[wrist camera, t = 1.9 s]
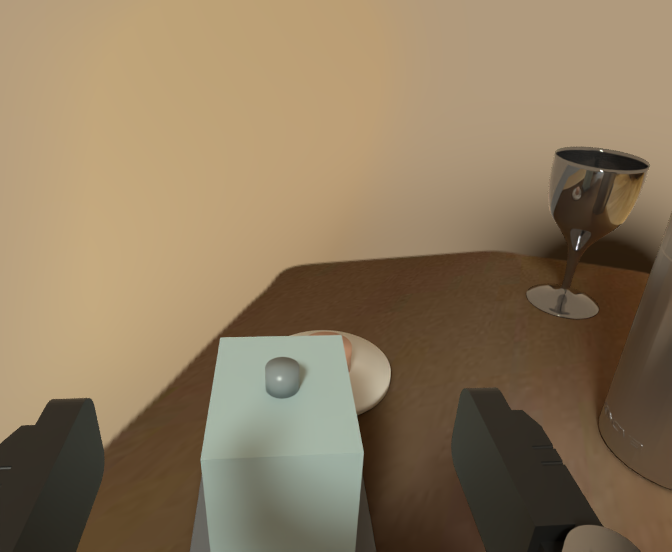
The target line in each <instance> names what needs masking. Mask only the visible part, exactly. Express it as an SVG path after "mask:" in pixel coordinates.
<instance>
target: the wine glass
mask: <svg viewBox="0 0 672 552" xmlns="http://www.w3.org/2000/svg"><path fill="white" fill-rule="evenodd" d="M649 167H650V164H649V163H648V162H647V161H646V160H644V159H642V158H640V157H637V156H634V155H631V154H628V153H624V152H619V151H614V150H609V149H602V148H593V147H565V148H560V149H558V150H556V152H555V155H554V159H553V163H552V168H551V174H550V179H549V192H548V197H549V209H550V212H551V214H552V217H553V219H554V221H555V222H556V224H557V226H558V227H559V229H560V231H561V232H562V234H563V235H564V238H565V239H566V243H567V247H568V258H567V266H566V272H565V276H564V280H563V283H562V285H558V284H539V285H535V286H532V287H531V288H529V289H528V291H527V293H526V296H527V299H528V300H529V302H530V303H531V304H533V305H534V306H535V307H537V308H538V309H540V310H542V311H544V312H546V313H549V314H551V315H555V316H558V317H563V318H569V319H586V318H590V317H593V316H595V315H596V314H597V313H598V312H599V306H598V303H597V302H596V301H595V300H594V299H593V298H592V297H591V296H589V295H588V294H586V293H584V292H582V291H580V290H577V289H574V288H572V287H570V286H571V282H572V278H573V275H574V272H575V269H576V267H577V265H578V262H579V260H580V258H581V256H582V254H583V253H584V251H585V250H586V249H587V248H588V247H589V246H590V245H591V244H593V243H594V242H596V241H597V240H599V239H600V238H602V237H604V236H605V235H607V234H609V233H610V232H612V231H614V230H615V229H616V228H618V227H619V226H620V225H622V224H623V222H624V221H625V220H626V219H627V217H628V216H629V214H630V212H631V211H632V209H633V207H634V205H635V203H636V201H637V199H638V198H639V195H640V193H641V191H642V188H643V185H644V183H645V180H646V177H647V174H648V170H649Z"/></svg>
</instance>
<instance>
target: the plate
mask: <svg viewBox="0 0 672 552" xmlns="http://www.w3.org/2000/svg"><path fill="white" fill-rule="evenodd" d="M317 332H334V333H338V334H341V335H343V336H345V337H346V338H347V339H348V340H349V341H350V342H351V344H352V355H351V369H350V372H349V377H350V382H351V387H352V393H353V398H354V403H355V409H356V414H357V415H359V414H362V413H364V412H366V411H368V410H370V409H372V408H373V407H374V406H376V405H377V404H378V403H379V402H380V401H381V400H382V399H383V398H384V396H385V395H386V393H387V391H388V389H389V385H390V377H391V369H390V364H389V362H388V359H387V358H386V356H385V355H384V354H383V352H382V351H381V350H380V349H379V348H377V347H376V346H375V345H373V344H372V343H371V342H369V341H367V340H365V339H363V338H361V337H358V336H355V335H352V334H349V333H344V332H339V331H330V330H317V331H307V332H302V333H298V334H294V335H291V336H308V335H310V334H313V333H317Z"/></svg>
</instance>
